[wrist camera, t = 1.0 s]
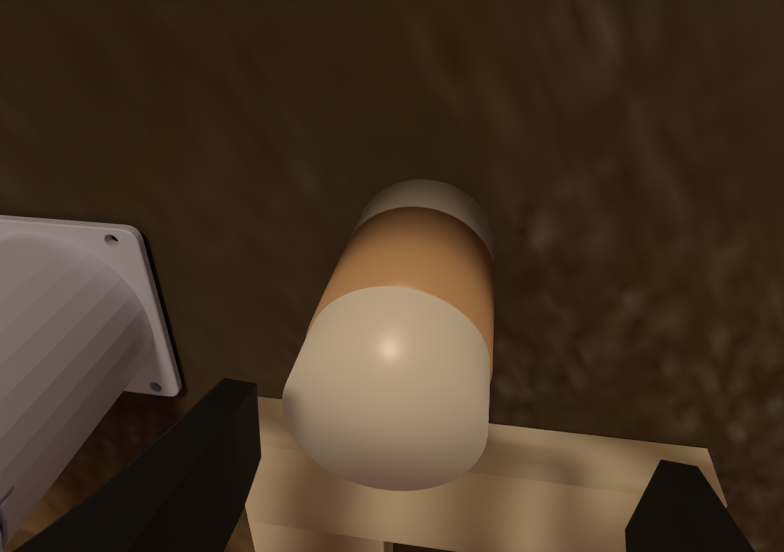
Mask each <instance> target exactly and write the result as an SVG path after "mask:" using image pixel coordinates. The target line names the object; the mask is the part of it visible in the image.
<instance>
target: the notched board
mask: <svg viewBox="0 0 784 552" xmlns="http://www.w3.org/2000/svg"><path fill="white" fill-rule="evenodd" d="M258 412H259V427H260V442H261V460H260V463H259V466H258V469H257V472H256V475H255V478H254V481H253V484H252V487H251V489H250V492H249V495H248V498H247V501H246V503H245V507H246V511H247V516H248V520H249V525H250V530H251V534H252V539H253V543H254V548H255V552H393V542H394V543H401V544H407V545H414V546H421V547H428V548H435V549H442V550H449V551H456V552H626V542H625V528H626V526H627V524H628V522H629V520H630V519H631V517H632V515H633V513H634V511H635V509H636V507H637V505H638V503H639V501H640V499H641V497H642V495H643V493H644V491H645V489H646V487H647V485H648V483H649V481H650V479H651V477H652V475H653V473H654V471H655V470H656V468H657V466H658V464H659V462H660V460H661V459H662V460H668V461H673V462H678V463H684V464H689V465H694V466H698V467H699V469H700V470H701V472H702V473H703V475H704V476H705V478H706V479H707V481H708V482H709V484H710V485H711V487H712V488H713V490H714V491H715V493H716V494H717V496H718V497H719V499H720V500H721V502H722V503H723V505H724V506H725V508H726V507H727V503H726V501H725V498H724V495H723V492H722V489H721V486H720V484H719V481H718V478H717V475H716V472H715V470H714V467H713V464H712V461H711V458H710V456H709V453H708V450H707V449H705V448H697V447H688V446H679V445H671V444H662V443H653V442H645V441H636V440H627V439H619V438H610V437H601V436H593V435H584V434H576V433H567V432H558V431H550V430H541V429H532V428H524V427H515V426H506V425H498V424H489V423H488V438H487V442H486V446H485V448H484V451H483V453H482V455H481V456H480V458H479V459H478V461H477V462H476V463H475V464H474V465H473V466H472V467H471V468H470V469H469V470H468V471H467V472H465V473H464V474H463V475H462V476H460V477H458V478H456V479H455V480H453V481H451V482H448V483H446V484H443V485H440V486H437V487H433V488H429V489H424V490H415V491H390V490H382V489H376V488H371V487H367V486H363V485H360V484H357V483H354V482H351V481H348V480H346V479H344V478H342V477H339V476H337V475H335V474H334V473H332V472H330V471H328V470H326V469H325V468H323V467H322V466H321V465H319V464H318V463H316V462H315V461H314V460H313V459H312V458H310V457H309V456H308V455H307V454H306V453H305V452H304V451H303V450H302V449H301V448H300V446H299V445H298V444H297V443H296V441H295V440H294V439H293V437H292V435H291V433H290V432H289V430H288V427H287V425H286V422H285V419H284V415H283V410H282V399H273V398H264V397H258Z"/></svg>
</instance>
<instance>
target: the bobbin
mask: <svg viewBox="0 0 784 552" xmlns="http://www.w3.org/2000/svg"><path fill="white" fill-rule="evenodd" d="M494 246H495V240H494V232H493V229H492V225H491V223H490V221H489V218H488V216H487V215H486V213H485V212H484V210H483V209H482V208H481V206H480V205H479V204H478V203H477V202H476V201H475V200H474V199H473V198H472V197H471V196H469V195H468V194H467V193H465V192H464V191H462V190H460V189H458V188H456V187H455V186H452V185H449V184H447V183H443V182H439V181H435V180H427V179H416V180H408V181H404V182H400V183H397V184H394V185H392V186H389V187H387V188H386V189H384V190H382V191H381V192H379V193H378V194H377V195H375V196H374V197H373V198H372V199H371V200H370V201H369V203H368V204H367V205H366V207H365V208H364V210H363V212H362V214H361V216H360V218H359V220H358V223H357V225H356V227H355V229H354V232H353V234H352V235H351V236H350V238H349V240H348V242H347V244H346V245H345V248H344V250H343V252H342V254H341V257H340V259H339V261H338V263H337V265H336V268H335V270H334V272H333V274H332V277H331V279H330V281H329V283H328V286H327V288H326V290H325V292H324V294H323V297H322V299H321V301H320V303H319V306H318V308H317V310H316V312H315V314H314V317H313V319H312V321H311V323H310V326H309V328H308V331H307V334H306V340H305V342H304V344H303V346H302V349H301V351H300V353H299V355H298V358H297V360H296V362H295V364H294V367H293V369H292V371H291V373H290V376H289V378H288V380H287V382H286V385H285V388H284V391H283V398H282V410H283V415H284V419H285V422H286V425H287V427H288V430H289V432H290V433H291V435H292V437H293V439H294V440H295V441H296V443H297V444H298V445H299V446H300V448H301V449H302V450H303V451H304V452H305V453H306V454H307V455H308V456H309V457H310V458H312V459H313V460H314V461H315V462H316V463H318V464H319V465H321V466H322V467H323V468H325V469H326V470H328V471H330V472H332V473H334V474H335V475H337V476H339V477H342V478H344V479H346V480H348V481H351V482H354V483H357V484H360V485H363V486H367V487H371V488H376V489H382V490H390V491H415V490H424V489H429V488H433V487H437V486H440V485H443V484H446V483H448V482H451V481H453V480H455V479H456V478H458V477H460V476H462V475H463V474H464V473H465V472H467V471H468V470H469V469H470V468H471V467H472V466H473V465H474V464H475V463H476V462H477V461H478V459H479V458H480V456H481V455H482V453H483V451H484V448H485V446H486V442H487V438H488V419H489V391H490V381H491V377H492V363H493V330H494V297H495V269H494Z"/></svg>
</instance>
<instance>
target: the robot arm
mask: <svg viewBox="0 0 784 552" xmlns="http://www.w3.org/2000/svg"><path fill="white" fill-rule="evenodd" d="M111 235H113V236H114V237H116V238H117V240H118V242H117V241H115V240H114V239H113V238H112V237H111ZM181 388H182V383H181V379H180V376H179V372H178V368H177V364H176V361H175V357H174V353H173V349H172V346H171V342H170V338H169V334H168V331H167V327H166V323H165V319H164V316H163V312H162V308H161V304H160V301H159V297H158V293H157V289H156V286H155V282H154V278H153V274H152V271H151V267H150V263H149V260H148V256H147V252H146V248H145V245H144V241H143V238H142V236H141V233H140V232H139V231H138V230H137V229H135V228H134V227H132V226H129V225H121V224H108V223H95V222H82V221H69V220H56V219H43V218H31V217H18V216H5V215H0V552H4V550H3V549H4V547H5V546H6V545H7V544H8V542H9V541H10V540H11V538H12V537H13V536H14V534H15V533H16V532H17V530H18V529H19V528H20V526H21V525H22V524H23V522H24V521H25V520H26V519H27V517H28V516H29V515H30V513H31V512H32V511H33V509H34V508H35V507H36V505H37V504H38V503H39V501H40V500H41V499H42V497H43V496H44V495H45V493H46V492H47V491H48V489H49V488H50V487H51V486H52V484H53V483H54V482H55V480H56V479H57V478H58V476H59V475H60V474H61V472H62V471H63V470H64V468H65V467H66V466H67V464H68V463H69V462H70V460H71V459H72V458H73V457H74V455H75V454H76V453H77V451H78V450H79V449H80V447H81V446H82V445H83V443H84V442H85V441H86V439H87V438H88V437H89V435H90V434H91V433H92V431H93V430H94V429H95V428H96V426H97V425H98V424H99V422H100V421H101V420H102V418H103V417H104V416H105V414H106V413H107V412H108V410H109V409H110V408H111V406H112V405H113V404H114V402H115V401H116V400H117V399H118V397H119V396H120V395H121V393H122V392H123V391H128V392H137V393H145V394H154V395H162V396H175V395H177V394H178V392H179V391H180V389H181ZM260 460H261V442H260V427H259V412H258V397H257V384H255V383H250V382H244V381H239V380H233V379H228V378H224V379H223V380H221V381H219V382H218V383H217V384H216V385H215V386H214V387H213V388H212V389H211V390H210V391H209V392H208V393H207V394H206V395H205V396H204V397H203V398H202V399H200V400H199V401H198V402H197V403H196V404H195V405H194V406H193V407H192V408H191V409H190V410H189V411H188V412H187V413H185V414H184V415H183V416H182V417H181V418H180V419H179V420H178V421H177V422H176V423H175V424H173V425H172V426H171V427H170V428H169V429H168V430H167V431H166V432H165V433H164V434H162V435H161V436H160V437H159V438H158V439H157V440H156V441H154V442H153V443H152V444H151V445H150V446H149V447H147V448H146V449H145V450H144V451H143V452H142V453H141V454H139V455H138V456H137V457H136V458H135V459H134V460H132V461H131V462H130V463H129V464H128V465H127V466H125V467H124V468H123V469H122V470H121V471H119V472H118V473H117V474H116V475H114V476H113V477H112V478H111V479H109V480H108V481H107V482H106V483H104V484H103V485H102V486H101V487H99V488H98V489H97V490H96V491H94V492H93V493H92V494H91V495H89V496H88V497H87V498H85V499H84V500H83V501H82V502H80V503H79V504H78V505H77V506H75V507H74V508H73V509H71V510H70V511H69V512H67V513H66V514H65V515H63V516H62V517H61V518H59V519H58V520H56V521H55V522H54V523H52V524H51V525H50V526H48V527H47V528H45V529H44V530H43V531H41V532H40V533H38V534H37V535H35V536H34V537H33V538H31V539H30V540H28V541H27V542H25V543H24V544H23V545H21V546H20V547H18V548H17V549H15V550H14V551H12V552H223V551H224V549H225V547H226V545H227V543H228V541H229V539H230V537H231V534H232V532H233V530H234V528H235V526H236V524H237V522H238V520H239V518H240V515H241V513H242V511H243V509H244V506H245V503H246V501H247V498H248V495H249V492H250V489H251V487H252V484H253V481H254V478H255V475H256V472H257V469H258V466H259V463H260ZM625 542H626V552H755V551H754V549H753V548H752V546H751V545H750V543H749V542H748V540H747V539H746V537H745V536H744V534H743V533H742V532H741V530H740V529H739V527H738V526H737V524H736V523H735V521H734V520H733V518H732V517H731V515H730V514H729V512H728V511H727V509H726V508H725V506H724V505H723V503H722V502H721V500H720V499H719V497H718V496H717V494H716V493H715V491H714V490H713V488H712V487H711V485H710V484H709V482H708V481H707V479H706V478H705V476H704V475H703V473H702V472H701V470H700V469H699V467H698V466H694V465H689V464H684V463H678V462H673V461H668V460H662V459H661V460H660V462H659V464H658V466H657V468H656V470H655V471H654V473H653V475H652V477H651V479H650V481H649V483H648V485H647V487H646V489H645V491H644V493H643V495H642V497H641V499H640V501H639V503H638V505H637V507H636V509H635V511H634V513H633V515H632V517H631V519H630V520H629V522H628V524H627V526H626V528H625Z"/></svg>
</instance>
